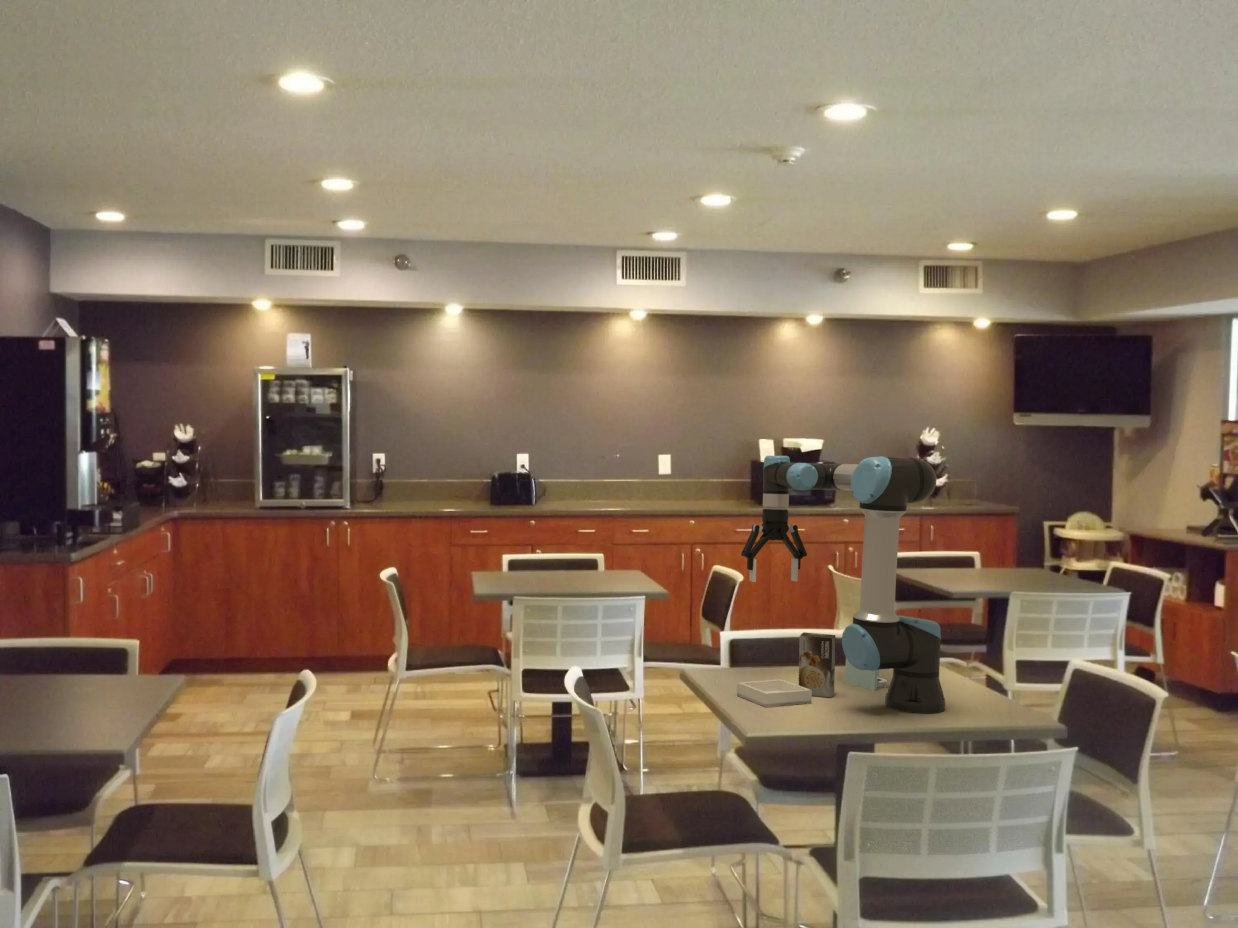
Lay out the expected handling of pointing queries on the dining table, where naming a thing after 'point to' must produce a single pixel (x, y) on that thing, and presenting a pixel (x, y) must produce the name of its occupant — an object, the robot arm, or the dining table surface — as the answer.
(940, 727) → the dining table surface
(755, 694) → the white square tray
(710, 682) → the dining table surface
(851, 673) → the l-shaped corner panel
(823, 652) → the coffee box
